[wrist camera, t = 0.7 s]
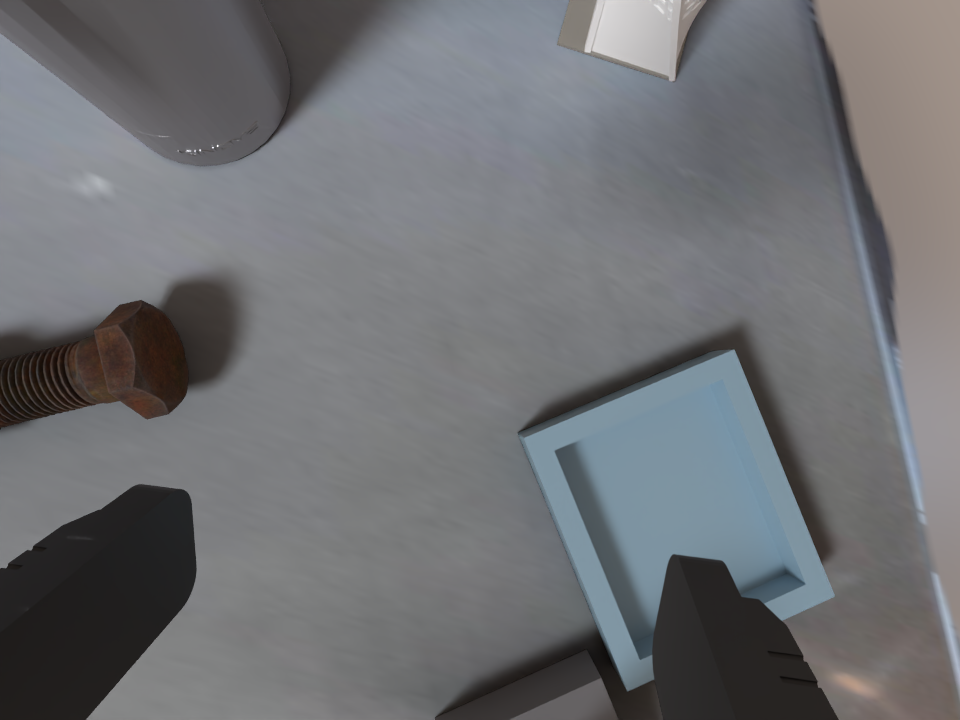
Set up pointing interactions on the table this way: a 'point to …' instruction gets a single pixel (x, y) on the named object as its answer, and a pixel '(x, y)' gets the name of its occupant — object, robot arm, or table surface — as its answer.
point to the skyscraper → (631, 32)
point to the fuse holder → (545, 696)
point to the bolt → (100, 370)
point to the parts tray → (672, 500)
